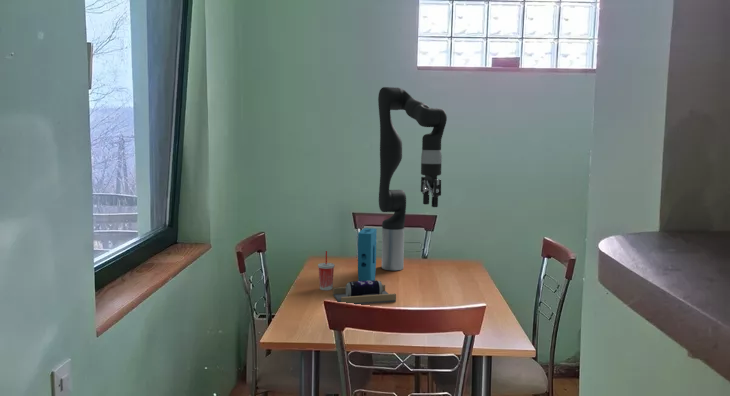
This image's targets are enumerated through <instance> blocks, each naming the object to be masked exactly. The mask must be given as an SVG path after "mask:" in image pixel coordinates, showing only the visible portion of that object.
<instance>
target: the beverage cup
mask: <svg viewBox="0 0 730 396" xmlns="http://www.w3.org/2000/svg"><path fill="white" fill-rule="evenodd" d="M317 267H318V276H319V277H318V279H319V290H321V291H331V290H333V288H334V287H333V286H334V285H333V284H334V273H335V272H334V270H335V269H334V268H335V263H331V262H328V251H327V250H326V251H325V262H321V263H318V264H317Z"/></svg>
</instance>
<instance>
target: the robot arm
mask: <svg viewBox="0 0 730 396" xmlns="http://www.w3.org/2000/svg"><path fill="white" fill-rule="evenodd" d="M377 101H378V115H379V129H380V130H379V135H380V136H379V166H380V167H379V169H380V171H379V173H380V174H379V188H378V207H379V210H380V212H382V213H393V214H392V215H391V216H390V217H389V218H387V219H384V220H383V221H382V224H381V230H382V231H381V269H382V270H385V271H402V270H404V260H405V258H404V257H405V252H404V251H405V223H406V210H407V196H406V192H405V191H404V190H403V189H390V185H391V181H392V179H393V178H392V177H393V175H394V173H395V172H396V170H397V169H398V167H399V166H400V163H401V162H402V158H403V140H402V139H401V137H400V136H401V135H400V134H399V132H398V130H397V129H396V127H395V126H394V124H393V121H392V116H391V111H399V110H402V111H405V114H406V115H407V116H408V117H410V118H411V119H413V120H415V121H416V123H417V124H418V125H419V126H421V127H424V128H432V131H431V132H428V133H426V134H423V136H422V140H421V143H422V144H421V145H422V147H421V157H420V158H421V159H420V174H421V175H422V176H421V178H420V179H421V180H420V193H422V204H423V205H429V204H430V194H431V208H438V207H439V197H440V196H442V179H441V178H440V179H439V178H438V177H439V176H442V161H443V160H442V159H443V157H442V156H443V155H442V138H443V135H444V131H445V128H446V124H447V120H448V119H447V118H448V115H447V112H446V111H445V110H444V109H443V108H441V107H430V106H429V105H428V104H426V103H424V102H422V101H420V100H419V99H416V98H414V97H413V96H412V95H411V94H409V92H408V91H406V90H405V89H403V88H402V87H393V86H392V87H391V86H390V87H389V86H382V87H380V89H379V92H378V98H377Z"/></svg>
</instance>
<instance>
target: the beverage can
mask: <svg viewBox="0 0 730 396" xmlns="http://www.w3.org/2000/svg"><path fill="white" fill-rule="evenodd" d="M382 285H383V284H382V281H379V280H376V279H375V280H373V281H358V280H356V281H355V280H354V281H349V282H347V284H345V287H346V295H347V297H349V296H364V295H379V294H382V291H383V288H382Z"/></svg>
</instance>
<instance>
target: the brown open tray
mask: <svg viewBox="0 0 730 396" xmlns="http://www.w3.org/2000/svg"><path fill="white" fill-rule="evenodd" d="M382 288H383V291H382V294H379V295H364V296H349V297H347V295H346V286H339V287H333V288H332V295H333V297H334V298H335V299H336V300H337V302H338V303H339V302H346V303H354V304H355V305H366V304H367V305H370V304H380V303H394V302H395V303H396V302H397V294H396V293H393V292H392V293H388V291H386V284H382Z"/></svg>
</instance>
